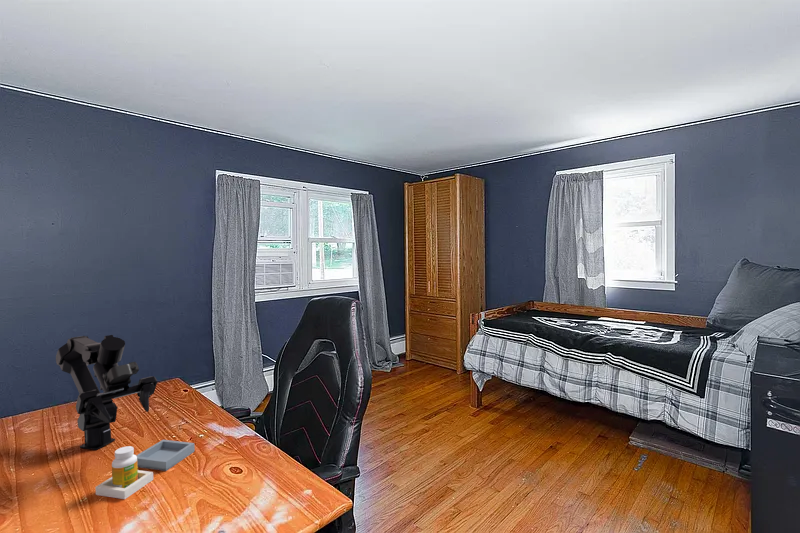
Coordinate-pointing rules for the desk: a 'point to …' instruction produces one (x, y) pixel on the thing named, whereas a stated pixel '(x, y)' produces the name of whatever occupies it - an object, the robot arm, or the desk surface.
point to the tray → (164, 454)
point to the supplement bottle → (124, 467)
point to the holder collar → (123, 493)
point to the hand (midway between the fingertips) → (129, 416)
